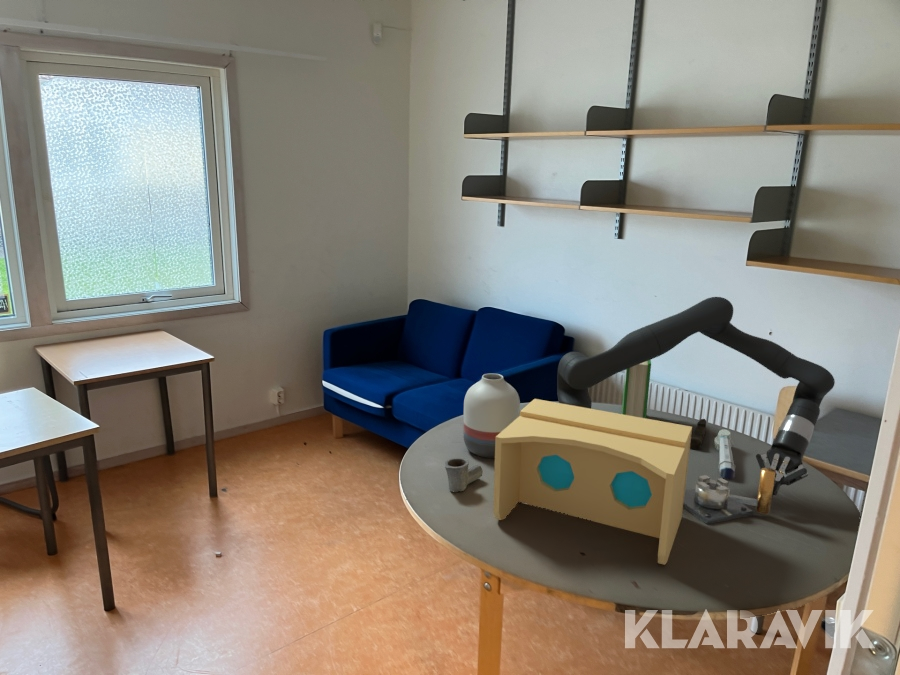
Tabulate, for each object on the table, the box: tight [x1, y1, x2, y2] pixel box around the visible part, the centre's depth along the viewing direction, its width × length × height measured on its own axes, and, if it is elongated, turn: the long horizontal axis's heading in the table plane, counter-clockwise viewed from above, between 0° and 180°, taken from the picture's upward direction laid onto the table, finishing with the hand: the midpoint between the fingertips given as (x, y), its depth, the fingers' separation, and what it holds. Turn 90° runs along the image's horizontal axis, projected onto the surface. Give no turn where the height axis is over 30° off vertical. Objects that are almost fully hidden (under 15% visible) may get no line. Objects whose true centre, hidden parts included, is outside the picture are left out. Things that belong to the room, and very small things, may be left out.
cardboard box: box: [492, 398, 693, 565], centre depth 156 cm, size 40×26×24 cm, turn 63°
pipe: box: [443, 457, 484, 493], centre depth 174 cm, size 6×13×8 cm, turn 136°
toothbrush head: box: [714, 428, 737, 480], centre depth 192 cm, size 5×7×25 cm
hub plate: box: [683, 488, 754, 525], centre depth 166 cm, size 14×14×2 cm
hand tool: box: [690, 418, 707, 451], centre depth 208 cm, size 19×4×5 cm, turn 148°
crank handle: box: [694, 467, 776, 515], centre depth 163 cm, size 18×8×11 cm, turn 66°
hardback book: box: [621, 359, 652, 419], centre depth 218 cm, size 18×7×24 cm, turn 165°
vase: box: [462, 372, 521, 459], centre depth 195 cm, size 17×17×24 cm
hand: (768, 494), depth 162 cm, fingers closed
